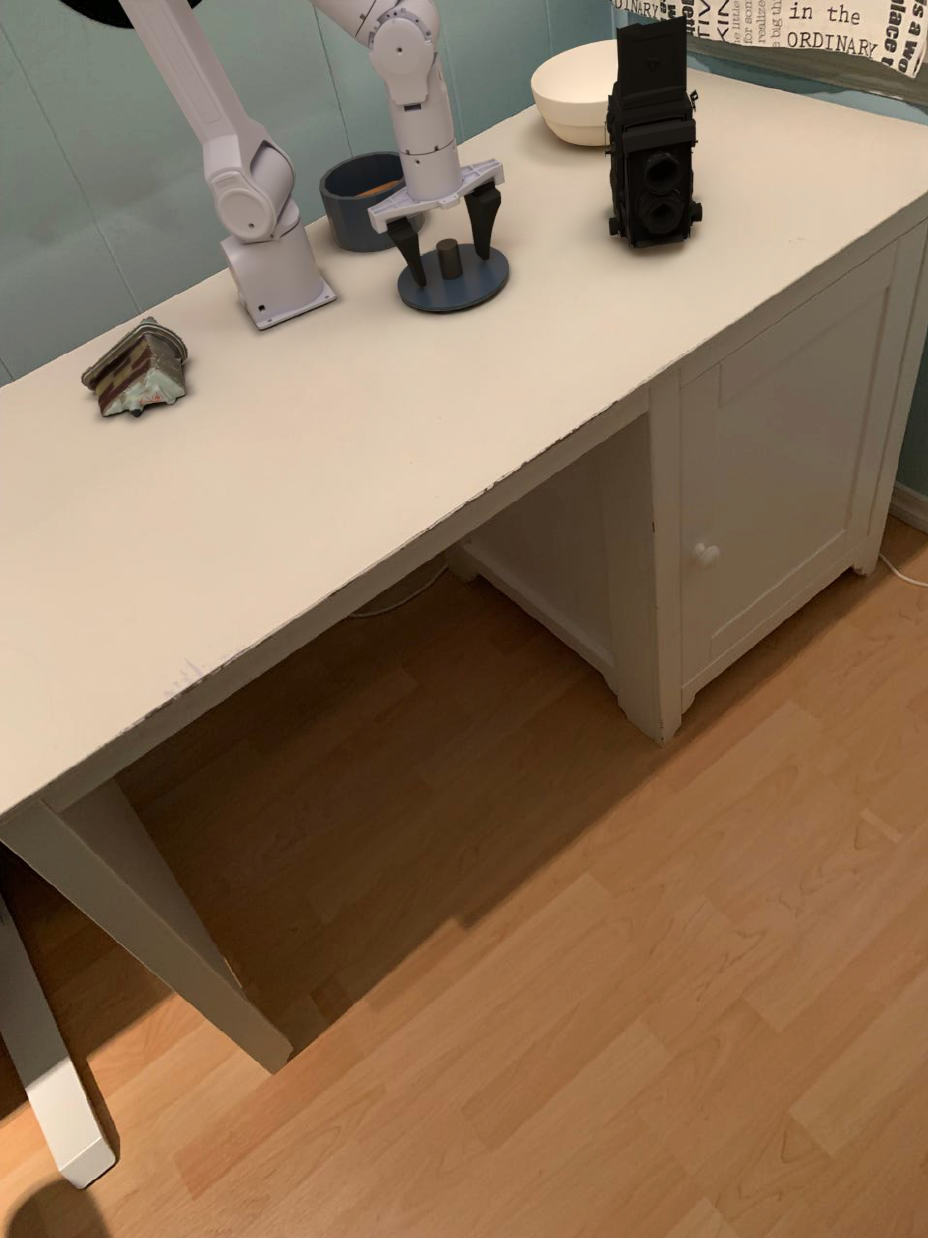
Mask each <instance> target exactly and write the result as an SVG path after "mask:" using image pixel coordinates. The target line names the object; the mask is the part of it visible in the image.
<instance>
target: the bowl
mask: <svg viewBox="0 0 928 1238" xmlns="http://www.w3.org/2000/svg"><path fill="white" fill-rule="evenodd" d="M617 73H618V56H617V38H615V39H606V40H600V41H595V42H590V43H586V44H583V45H579V46H576V47H573V48H570V49H568V50H564V51H562V52H561V53H558V54H556V55H554V56H552V57H551V58H549V59H547V60H546V61H544V62H543V63H542V64H541V65H539V66H538V67H537V69H535V71H534V72H533V74H532V76H531V78H530V86H531V87H530V89H531V92H532V95H533V99H534V102H535V107H536V109H537V111H538V112H539V114H540V115H541V116H542V117H543V118H544V121H545V123H546V124H547V127H548V128H549V129H550V130H551V131H552V132H553V133H554V134H555V135H556V136H557V137H558V138H560V139H561V140H563V141H565V142H567V143H570V144H574V145H579V146H591V147H599V146H600V147H601V146H605V128H606V146H610V141H609V136H610V134H609V133H608V131H607V125H606V126H605V123H604V121H606V115H607V112H608V111H607V109H608V95H612V90H613V84H614V83H615V82H616V81H617Z"/></svg>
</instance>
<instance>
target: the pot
mask: <svg viewBox="0 0 928 1238" xmlns="http://www.w3.org/2000/svg"><path fill="white" fill-rule="evenodd" d="M397 180H398V181H397ZM392 181H397V182H396V183H395V184H393V185H392V186H390V187H388V188H386V189H383V190H381V191H378V192H376V193H373V194H368V195H363V196H358V197H354V196H357V195H359V194H362V193H364V192H367V191H369V190H372V189H374V188H377V187H379V186H382V185H384V184H387V183H389V182H392ZM404 187H406V182H405V178H404V173H403V169H402V164H401V160H400V156H399V151H398V152H397V151H393V150H385V151H384V150H383V151H381V150H379V151H372V152H367V153H363V154H358V155H355V156H353V157H350V158H347V159H344V160H343V161H340V162H338V164H335V165H334V166H332V167H331V168H329V169H328V170H326V172H325V173H324V174H323V175H322V177H321V178H320V179H319V184H318V191H319V194H320V197H321V201H322V204H323V208H324V211H325V214H326V217H327V220H328V224H329V227H330V230H331V234H332V237H333V238H334V240H335V242H336V244H337V245H338V246H339V247H340V248H342V249H343V250H346V251H349V252H354V253H372V252H379V251H383V250H387V249H390V248H393V247H397V246H396V245H395V243H394V242H393V241H392V239H391V238H390V237H389V236H388V234H387V233H386V232H383V233H380V234H379V233H378V232H376V230H375V229H374V228H373V227H372V224H371V221H370V217H369V213H368V208H371V207H373V206H375V205H377V204H379V203H381V202H382V201H384V200H385V199H387V198H389V197H390V196H392V195H393V194H395V193H396V192H398V191H399V190H401V189H402V188H404ZM425 218H426V217H425V212H423V213H421V214H418V215H416V216H413V217H411V218H408V222H409V223H411V225H412V228H413V229H414V230H415V231H416V232H417V233H418V232H420V230H421V229H422V227H423V226H424V224H425Z"/></svg>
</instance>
